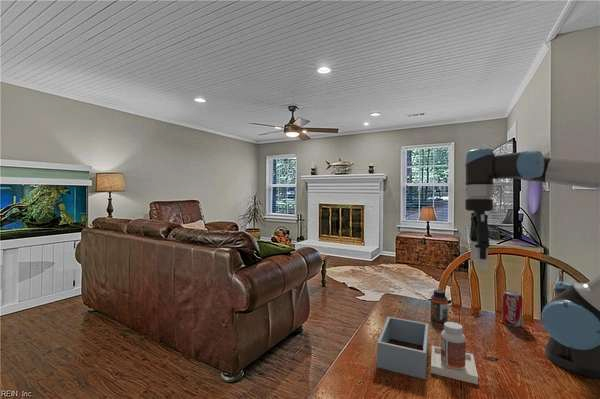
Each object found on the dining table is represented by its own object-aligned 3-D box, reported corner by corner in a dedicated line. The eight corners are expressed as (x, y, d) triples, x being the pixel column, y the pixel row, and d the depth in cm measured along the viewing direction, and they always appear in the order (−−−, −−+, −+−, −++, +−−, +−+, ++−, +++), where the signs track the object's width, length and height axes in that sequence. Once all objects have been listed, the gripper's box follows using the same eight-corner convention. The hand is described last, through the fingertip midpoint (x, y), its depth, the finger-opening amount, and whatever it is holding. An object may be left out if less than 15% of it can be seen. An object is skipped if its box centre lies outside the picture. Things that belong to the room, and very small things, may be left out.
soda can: (502, 319, 116) (502, 289, 115) (522, 323, 112) (523, 292, 112) (500, 324, 111) (501, 293, 111) (521, 329, 107) (522, 296, 107)
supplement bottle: (427, 317, 117) (427, 289, 116) (439, 315, 118) (439, 287, 118) (438, 323, 111) (438, 294, 111) (450, 321, 113) (451, 292, 113)
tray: (472, 360, 86) (473, 354, 86) (477, 384, 75) (478, 376, 75) (431, 351, 91) (431, 345, 91) (430, 372, 80) (431, 365, 80)
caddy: (427, 345, 95) (428, 323, 94) (425, 379, 77) (426, 353, 77) (387, 336, 100) (388, 316, 100) (376, 367, 82) (377, 342, 82)
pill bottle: (469, 366, 82) (470, 326, 82) (458, 373, 78) (458, 332, 78) (447, 356, 87) (448, 318, 87) (436, 362, 84) (436, 323, 83)
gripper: (461, 198, 106) (460, 256, 106) (470, 198, 83) (470, 272, 84) (485, 198, 103) (485, 258, 103) (502, 198, 80) (501, 275, 81)
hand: (478, 265), depth 93 cm, fingers open, 13 cm apart
